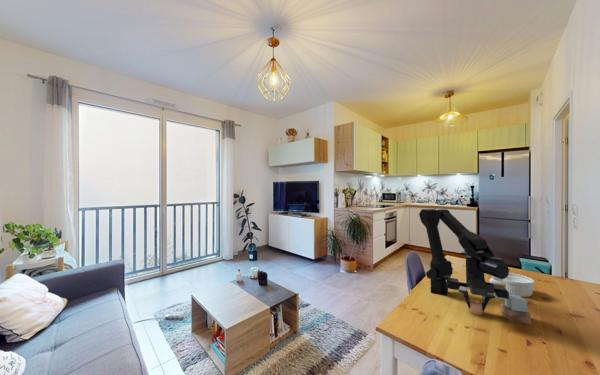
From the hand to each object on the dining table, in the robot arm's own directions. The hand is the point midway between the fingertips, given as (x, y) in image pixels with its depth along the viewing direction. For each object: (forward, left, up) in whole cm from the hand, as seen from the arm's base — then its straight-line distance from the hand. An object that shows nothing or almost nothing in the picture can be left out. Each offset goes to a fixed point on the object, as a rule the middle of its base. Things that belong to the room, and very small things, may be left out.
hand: (475, 309), depth 87 cm
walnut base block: (+12, +2, -2) cm, 12 cm away
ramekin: (+19, +31, -2) cm, 36 cm away
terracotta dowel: (0, 0, -1) cm, 1 cm away
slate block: (+12, +2, +2) cm, 13 cm away
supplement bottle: (+11, +21, -2) cm, 24 cm away
